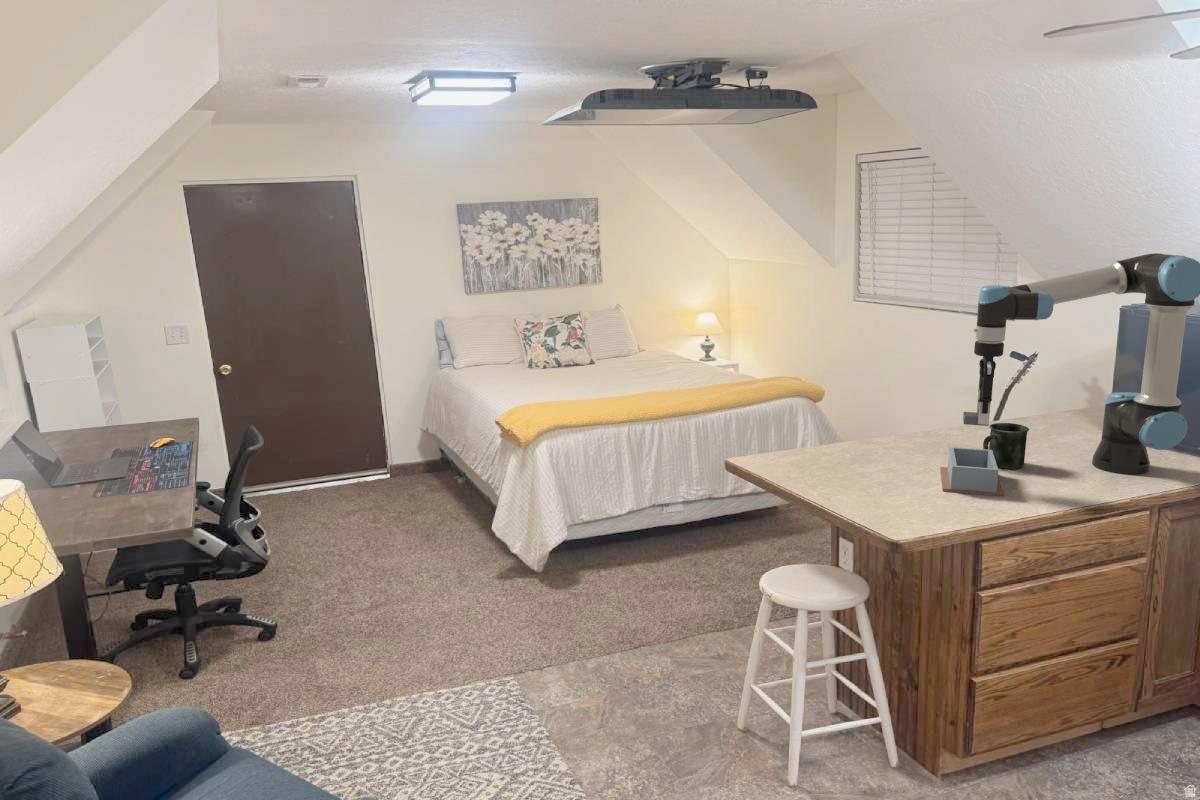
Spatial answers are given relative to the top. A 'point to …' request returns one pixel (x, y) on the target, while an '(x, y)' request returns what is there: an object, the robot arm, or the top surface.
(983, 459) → the box
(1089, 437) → the top surface
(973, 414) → the brushed grey block
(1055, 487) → the top surface
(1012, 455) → the mug
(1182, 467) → the top surface
